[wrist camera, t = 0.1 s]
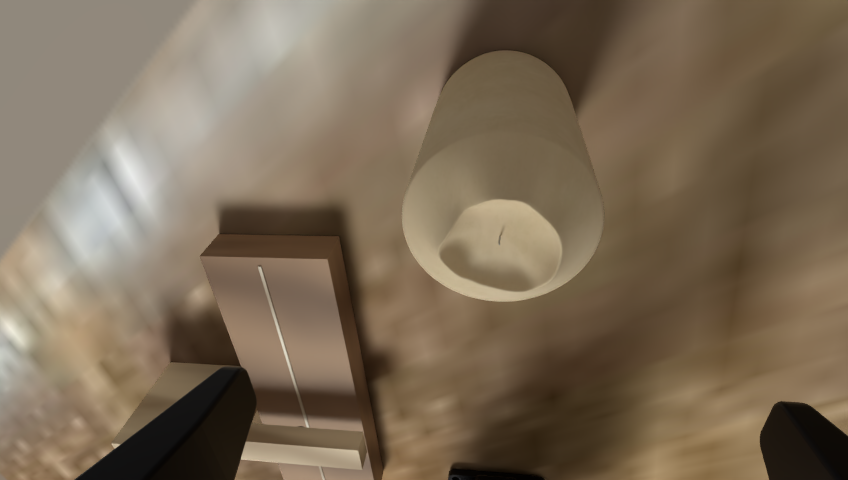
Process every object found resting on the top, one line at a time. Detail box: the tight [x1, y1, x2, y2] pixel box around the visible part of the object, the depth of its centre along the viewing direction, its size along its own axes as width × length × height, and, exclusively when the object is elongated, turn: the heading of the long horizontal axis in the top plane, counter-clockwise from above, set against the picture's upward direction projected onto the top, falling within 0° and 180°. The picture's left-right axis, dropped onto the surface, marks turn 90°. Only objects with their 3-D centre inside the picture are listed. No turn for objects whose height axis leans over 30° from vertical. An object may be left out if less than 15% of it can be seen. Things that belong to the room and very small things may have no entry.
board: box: [200, 234, 383, 480], centre depth 31 cm, size 20×6×2 cm, turn 4°
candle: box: [402, 50, 605, 302], centre depth 17 cm, size 6×6×10 cm
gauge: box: [111, 362, 367, 470], centre depth 31 cm, size 4×14×6 cm, turn 94°
